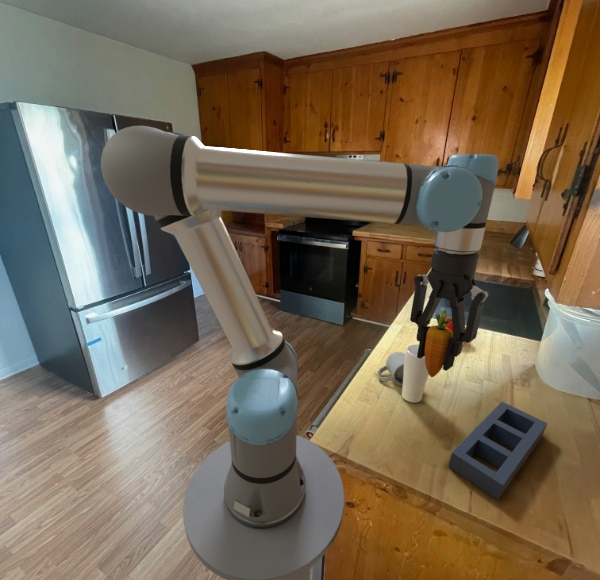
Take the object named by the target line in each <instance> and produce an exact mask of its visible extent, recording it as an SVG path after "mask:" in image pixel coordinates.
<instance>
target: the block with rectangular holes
mask: <svg viewBox="0 0 600 580" xmlns="http://www.w3.org/2000/svg"><path fill="white" fill-rule="evenodd" d="M547 426H548V422H546V421H544V420H542V419H540V418H537V417H536V416H533V415H532V414H529V413H527V412H525V411H523V410H521V409H519V408H517V407H515V406H512V405H510V404H508V403H506V402H505V401H500V403H498V405H497V406H496V407H495V408H493V410H492V411H491V412H490V413H489V414H488V415H487V416H486V417H485V418H484V419H483V420H482V421H481V422H480V423H479V424H478V425H477V426H476V427H475V428H474V429H473V430H472V431H471V432H470V433H469V434H468V435H467V436H466V437H465V438H464V439H463V440H462V441H461V443H459V444H458V446H456V448H455V449H453V451H452V452H451V454H450V458H449V462H448V468H450V469H451V470H453V471H454V472H456V473H458V474H459V475H460V476H461V477H463V478H465V479H466V480H468V481H469V482H470V483H472V484H473V485H475V486H477V487H478V488H479V489H480V490H482V491H484V492H485V493H487V494H488V495H489V496H491V497H492V498H494V499H496V500H497V501H499V499H500V498H501V496H502V495H503V493H504V492H506V489H507V488H508V486H509V485H510V484H511V483H512V481H513V479H514V478H515V477H516V475H517V474H518V472H519V471H520V469H521V468H522V466H523V465H524V463H525V462H526V461H527V460H528V458H529V457H530V455H531V453H532V452H533V451H534V449H535V448H536V446H537V445H538V443H539V442H540V440H541V439H542V438H543V436H544V434H545V431H546V428H547ZM490 438H492V439H494V440H496V441H497V442H499V443H501V444H503V445H504V446H507V447H508V448H510V449H512V451H511V450H509V449H507V448H505V447H504V446H502V445H500V444H498V443H497V442H495V441H493V440H492V439H490ZM474 455H477V456H478V457H479V458H481V459H483V460H485V461H486V462H488V463H490V464H492V465H493V466H495V467H496V468H497V469H498V470H497V471H494V470H493V469H491V468H489V466H486V465H484V464H483V463H481V462H479V461H478V460H476V459H475V458H474V457H473V456H474Z"/></svg>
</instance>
